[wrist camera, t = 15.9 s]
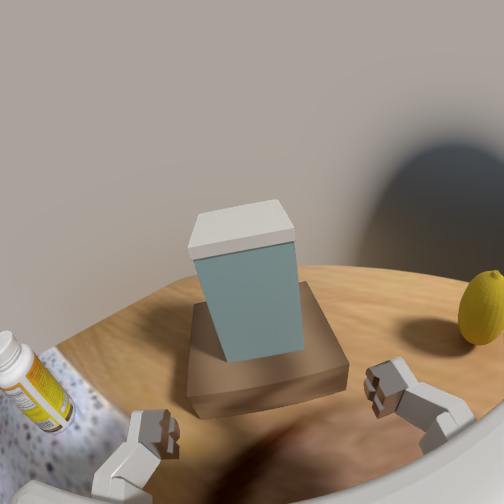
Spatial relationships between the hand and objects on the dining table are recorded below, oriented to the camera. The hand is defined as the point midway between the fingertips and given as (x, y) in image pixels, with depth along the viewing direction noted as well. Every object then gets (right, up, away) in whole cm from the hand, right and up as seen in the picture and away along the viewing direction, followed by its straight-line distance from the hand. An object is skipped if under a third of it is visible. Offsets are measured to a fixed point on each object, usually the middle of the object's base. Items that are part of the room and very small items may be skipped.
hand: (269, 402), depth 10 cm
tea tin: (0, -1, +13) cm, 13 cm away
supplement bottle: (-20, -11, +9) cm, 25 cm away
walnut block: (+1, -4, +15) cm, 16 cm away
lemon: (+21, -3, +9) cm, 23 cm away
